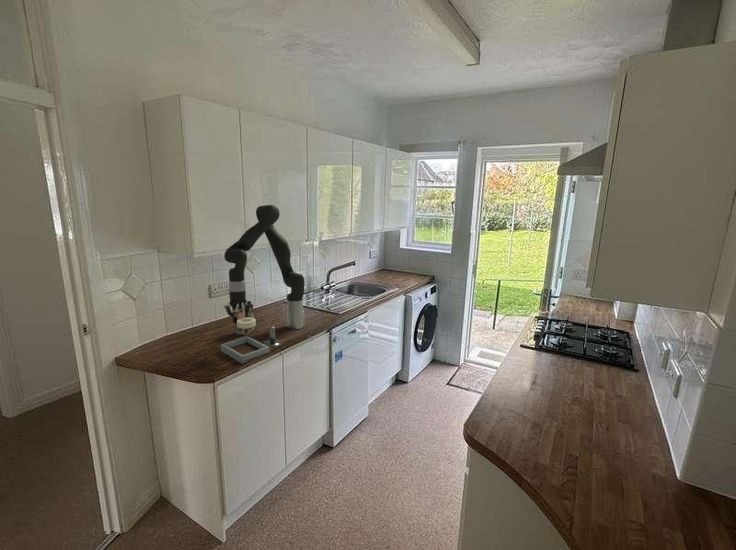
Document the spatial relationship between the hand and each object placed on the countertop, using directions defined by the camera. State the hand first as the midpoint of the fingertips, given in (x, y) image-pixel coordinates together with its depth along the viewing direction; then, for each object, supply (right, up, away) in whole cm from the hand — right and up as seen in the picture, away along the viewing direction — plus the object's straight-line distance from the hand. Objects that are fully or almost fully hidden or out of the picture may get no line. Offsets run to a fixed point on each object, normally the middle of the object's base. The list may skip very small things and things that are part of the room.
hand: (239, 322), depth 180 cm
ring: (+4, 0, -3) cm, 5 cm away
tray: (+3, -15, 0) cm, 15 cm away
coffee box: (-5, -10, +25) cm, 28 cm away
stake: (+14, -13, +10) cm, 22 cm away
